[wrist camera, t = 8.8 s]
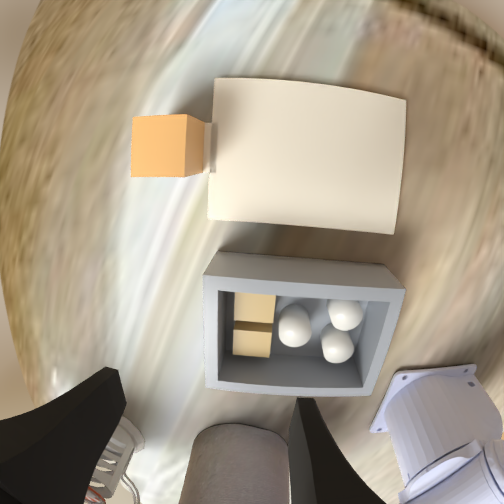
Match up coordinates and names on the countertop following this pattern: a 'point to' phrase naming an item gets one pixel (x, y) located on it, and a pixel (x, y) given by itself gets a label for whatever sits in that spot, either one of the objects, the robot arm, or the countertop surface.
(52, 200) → the countertop surface
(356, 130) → the lid
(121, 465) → the french press
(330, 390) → the tub
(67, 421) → the robot arm
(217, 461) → the pillar candle
